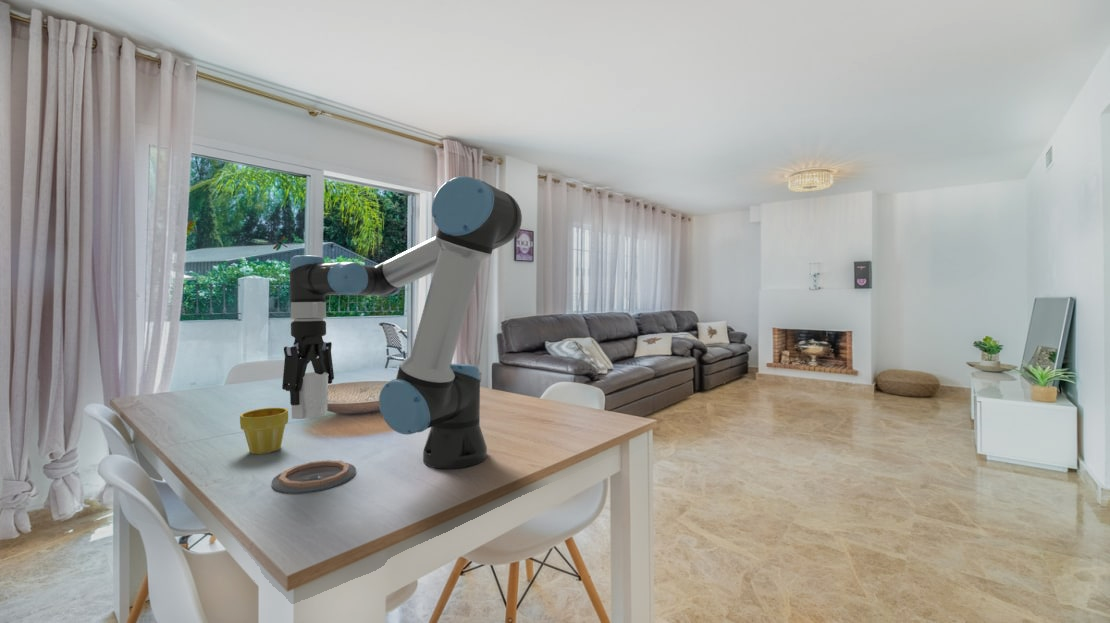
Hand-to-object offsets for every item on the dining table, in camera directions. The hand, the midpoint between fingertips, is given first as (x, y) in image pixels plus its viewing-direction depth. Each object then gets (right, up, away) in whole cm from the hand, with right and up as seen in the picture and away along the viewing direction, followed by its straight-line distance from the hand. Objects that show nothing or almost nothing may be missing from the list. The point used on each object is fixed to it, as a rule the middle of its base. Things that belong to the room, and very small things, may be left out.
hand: (310, 414), depth 110 cm
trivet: (+8, -11, -12) cm, 18 cm away
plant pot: (-15, -11, +6) cm, 19 cm away
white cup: (0, -1, 0) cm, 1 cm away
